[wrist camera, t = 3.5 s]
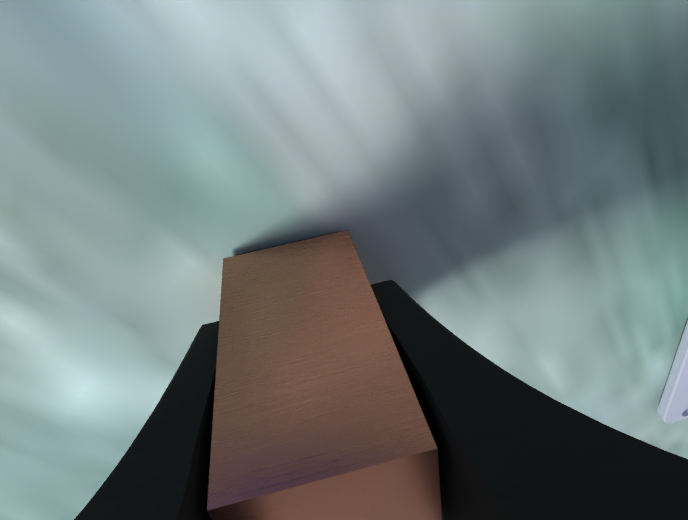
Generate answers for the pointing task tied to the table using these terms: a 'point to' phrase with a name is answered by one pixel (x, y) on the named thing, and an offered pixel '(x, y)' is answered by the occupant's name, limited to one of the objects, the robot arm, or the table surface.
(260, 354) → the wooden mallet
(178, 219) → the table surface
